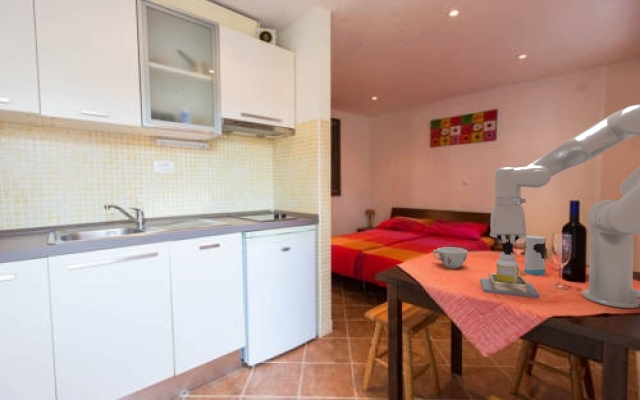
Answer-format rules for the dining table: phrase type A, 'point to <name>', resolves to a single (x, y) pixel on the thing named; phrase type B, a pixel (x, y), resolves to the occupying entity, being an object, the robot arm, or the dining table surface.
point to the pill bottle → (507, 269)
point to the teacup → (451, 256)
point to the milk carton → (535, 255)
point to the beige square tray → (509, 284)
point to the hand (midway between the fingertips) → (507, 253)
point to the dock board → (488, 288)
